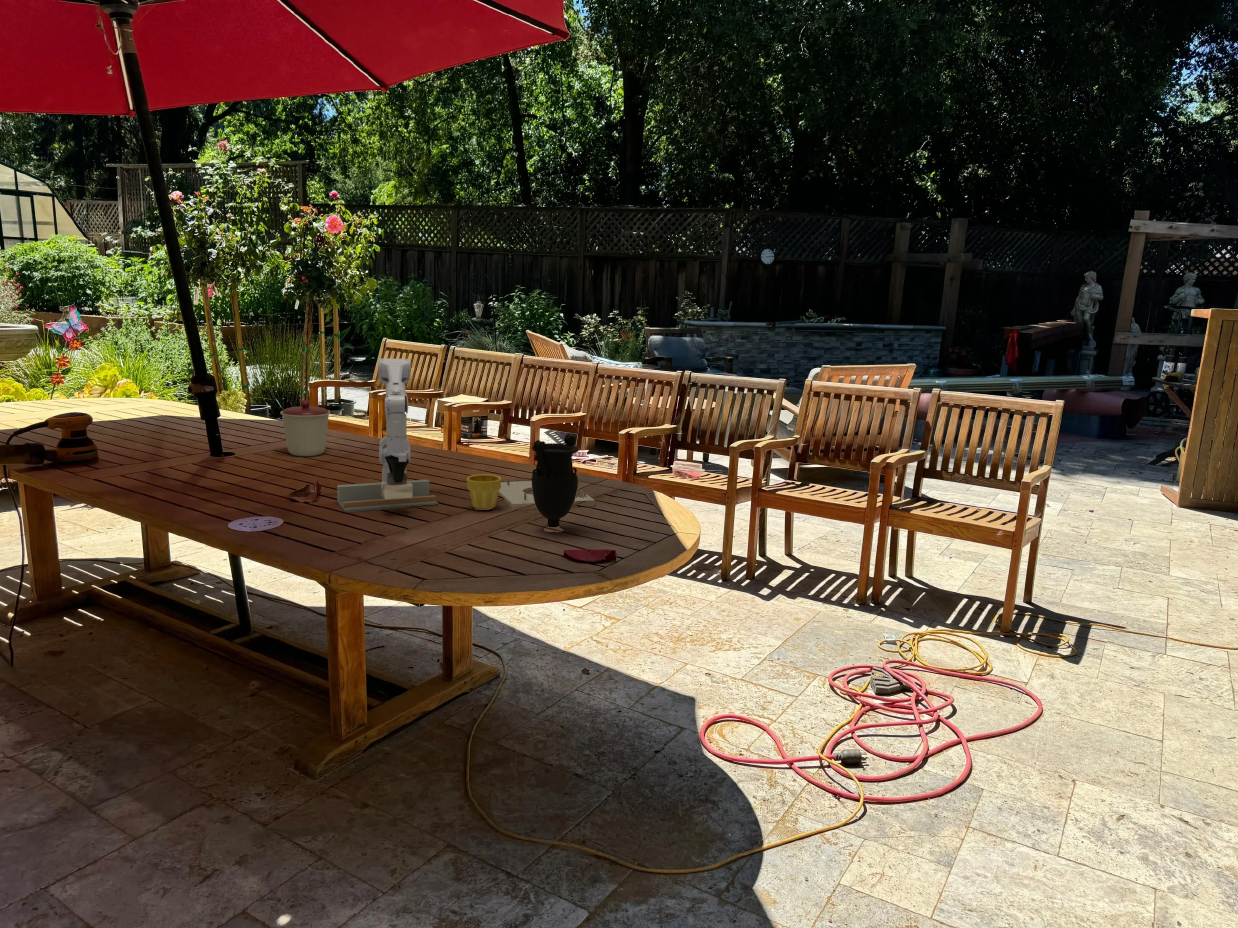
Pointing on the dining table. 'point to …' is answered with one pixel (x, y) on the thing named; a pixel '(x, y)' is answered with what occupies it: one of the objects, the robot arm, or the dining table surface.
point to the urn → (554, 479)
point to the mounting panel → (519, 498)
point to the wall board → (371, 499)
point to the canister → (305, 429)
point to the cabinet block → (396, 488)
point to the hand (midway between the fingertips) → (396, 481)
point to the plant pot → (484, 490)
